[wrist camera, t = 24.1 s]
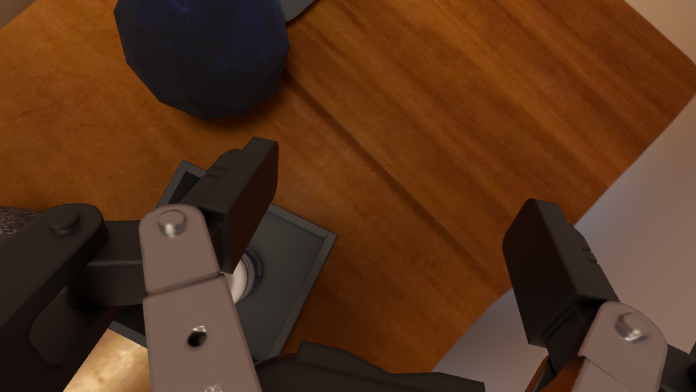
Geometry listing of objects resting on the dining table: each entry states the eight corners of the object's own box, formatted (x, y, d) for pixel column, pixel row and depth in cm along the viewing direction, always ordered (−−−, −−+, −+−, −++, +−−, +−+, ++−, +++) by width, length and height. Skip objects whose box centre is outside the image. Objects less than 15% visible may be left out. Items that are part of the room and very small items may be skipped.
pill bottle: (204, 288, 35) (152, 307, 26) (223, 238, 36) (179, 238, 26) (253, 305, 35) (219, 331, 26) (271, 255, 36) (245, 261, 26)
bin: (338, 235, 37) (337, 235, 30) (271, 372, 35) (254, 404, 29) (211, 173, 38) (182, 159, 31) (139, 304, 36) (92, 320, 29)
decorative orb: (156, -51, 35) (34, -79, 22) (302, -39, 35) (266, -59, 22) (180, 90, 42) (99, 132, 29) (301, 100, 42) (274, 147, 29)
